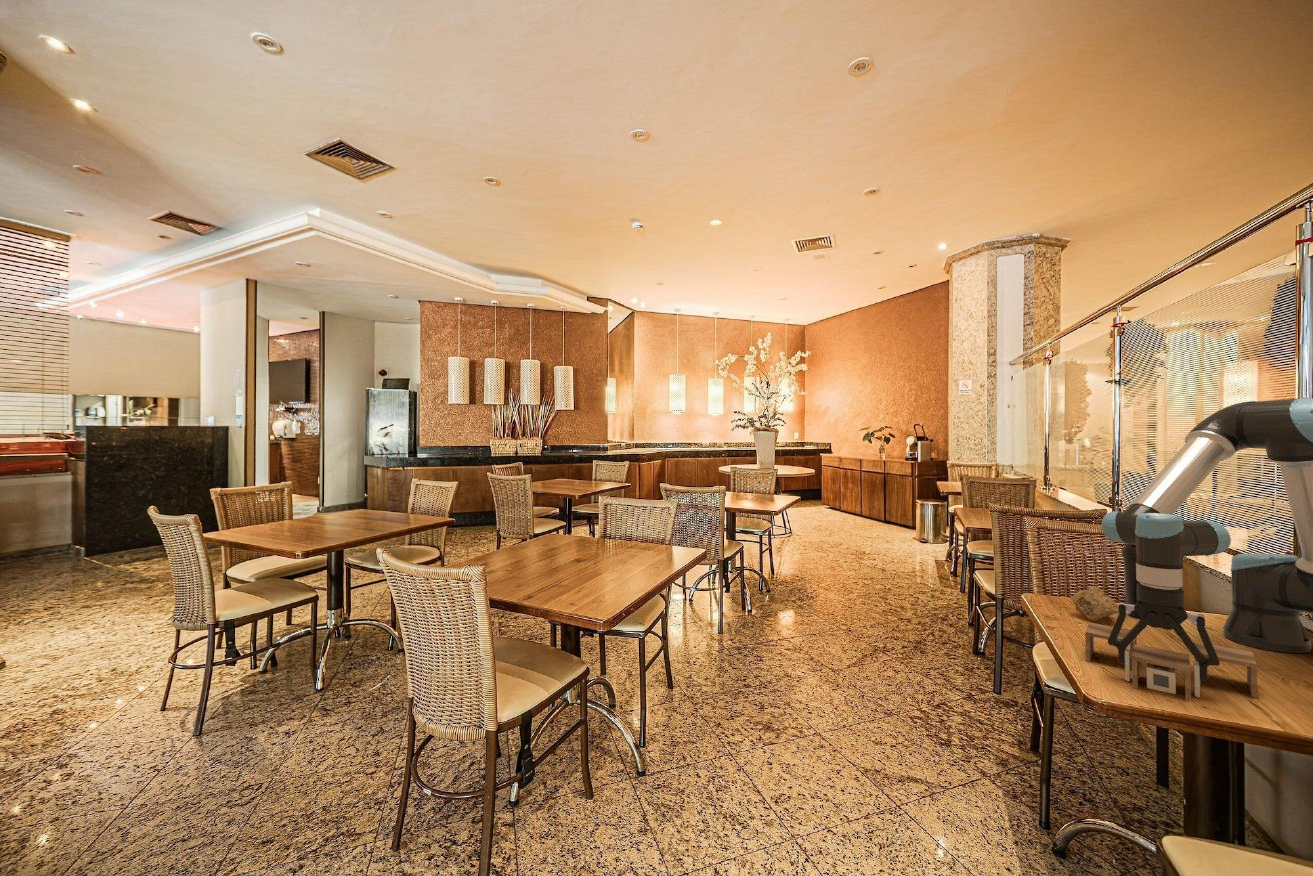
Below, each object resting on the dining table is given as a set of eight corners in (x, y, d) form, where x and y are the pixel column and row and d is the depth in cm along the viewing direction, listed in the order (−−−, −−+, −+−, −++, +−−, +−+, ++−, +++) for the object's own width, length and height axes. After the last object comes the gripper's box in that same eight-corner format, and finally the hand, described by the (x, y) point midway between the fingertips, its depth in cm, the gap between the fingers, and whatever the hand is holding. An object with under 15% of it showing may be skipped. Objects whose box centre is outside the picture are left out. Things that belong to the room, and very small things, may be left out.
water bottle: (1178, 623, 154) (1176, 544, 154) (1137, 621, 156) (1135, 543, 156) (1153, 612, 164) (1151, 537, 164) (1115, 610, 166) (1113, 537, 166)
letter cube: (1147, 681, 120) (1147, 660, 120) (1175, 687, 116) (1175, 666, 116) (1147, 688, 116) (1146, 667, 116) (1175, 694, 113) (1175, 673, 113)
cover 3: (1194, 671, 124) (1194, 640, 124) (1252, 682, 117) (1251, 651, 117) (1195, 684, 117) (1195, 652, 117) (1257, 697, 111) (1256, 664, 111)
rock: (1066, 613, 164) (1066, 581, 164) (1098, 612, 165) (1097, 580, 165) (1101, 627, 152) (1101, 592, 152) (1135, 626, 153) (1134, 591, 153)
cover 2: (1134, 674, 123) (1134, 644, 123) (1189, 686, 116) (1189, 654, 116) (1132, 688, 116) (1132, 656, 116) (1191, 701, 110) (1190, 667, 110)
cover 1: (1089, 649, 137) (1089, 622, 137) (1136, 659, 131) (1136, 630, 131) (1085, 660, 130) (1085, 632, 130) (1135, 671, 124) (1134, 641, 124)
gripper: (1235, 591, 111) (1236, 697, 111) (1094, 573, 127) (1095, 666, 127) (1238, 599, 106) (1240, 710, 106) (1090, 579, 122) (1092, 676, 121)
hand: (1161, 686), depth 116 cm, fingers open, 10 cm apart
